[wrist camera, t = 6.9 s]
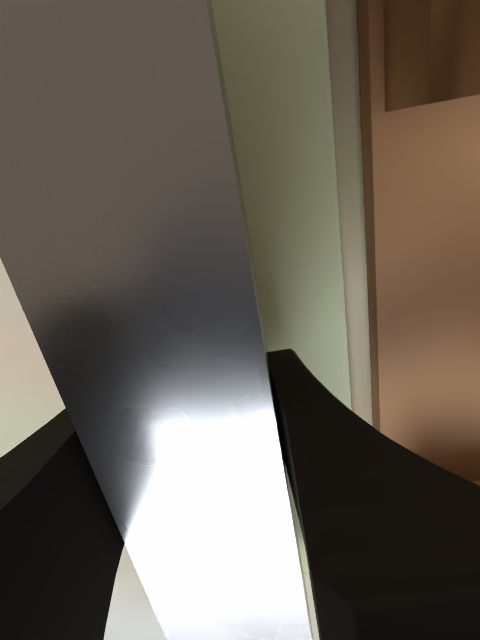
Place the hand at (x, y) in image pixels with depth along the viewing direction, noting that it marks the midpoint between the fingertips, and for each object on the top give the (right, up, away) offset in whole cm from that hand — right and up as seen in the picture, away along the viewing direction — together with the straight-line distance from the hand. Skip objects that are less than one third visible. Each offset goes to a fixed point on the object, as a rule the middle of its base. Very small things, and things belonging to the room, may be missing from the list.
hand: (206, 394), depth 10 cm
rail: (0, 0, 0) cm, 1 cm away
